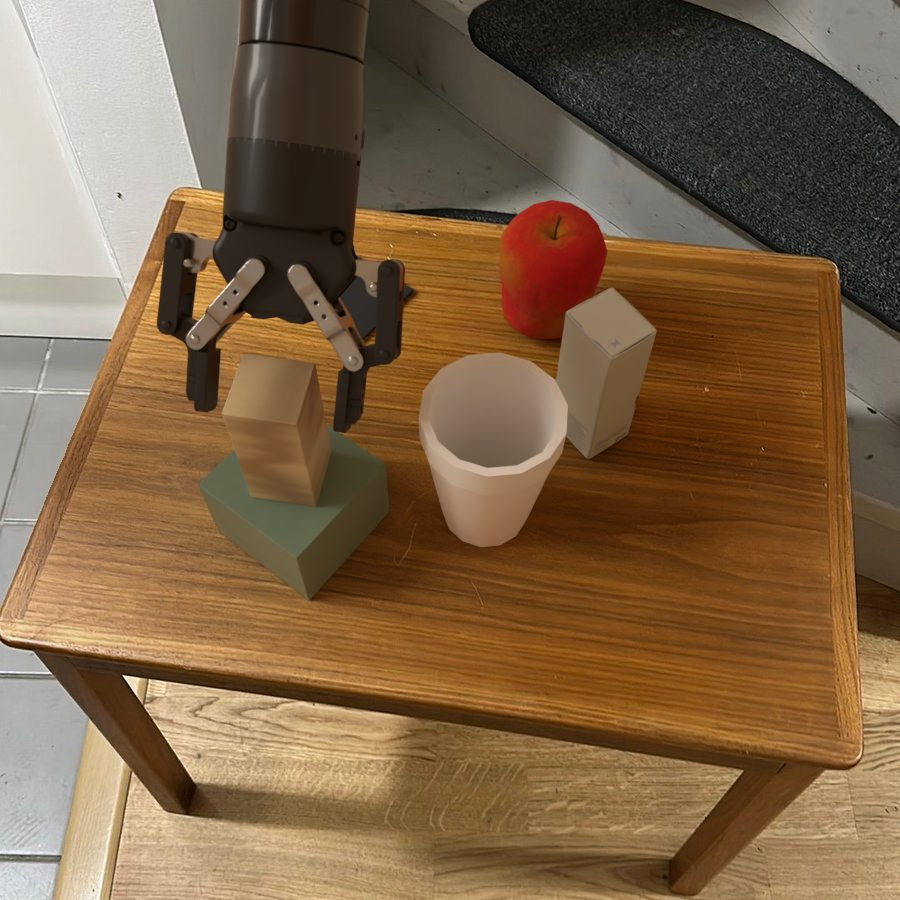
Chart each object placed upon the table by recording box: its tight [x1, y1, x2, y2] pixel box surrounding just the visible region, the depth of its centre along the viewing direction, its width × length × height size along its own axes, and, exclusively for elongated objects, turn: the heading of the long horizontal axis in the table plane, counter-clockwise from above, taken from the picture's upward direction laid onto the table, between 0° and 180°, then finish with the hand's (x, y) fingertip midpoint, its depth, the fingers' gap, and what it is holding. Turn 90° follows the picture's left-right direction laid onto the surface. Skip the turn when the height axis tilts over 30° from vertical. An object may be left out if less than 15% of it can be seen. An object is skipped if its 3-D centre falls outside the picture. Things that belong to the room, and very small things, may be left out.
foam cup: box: [418, 351, 568, 548], centre depth 64 cm, size 10×9×13 cm
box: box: [555, 287, 657, 460], centre depth 68 cm, size 5×4×13 cm
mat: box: [324, 254, 415, 342], centre depth 80 cm, size 7×7×1 cm
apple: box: [498, 199, 608, 340], centre depth 74 cm, size 9×8×12 cm
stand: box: [197, 424, 390, 601], centre depth 65 cm, size 9×9×7 cm
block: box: [221, 352, 331, 507], centre depth 58 cm, size 4×4×10 cm
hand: (273, 420), depth 56 cm, fingers open, 8 cm apart
